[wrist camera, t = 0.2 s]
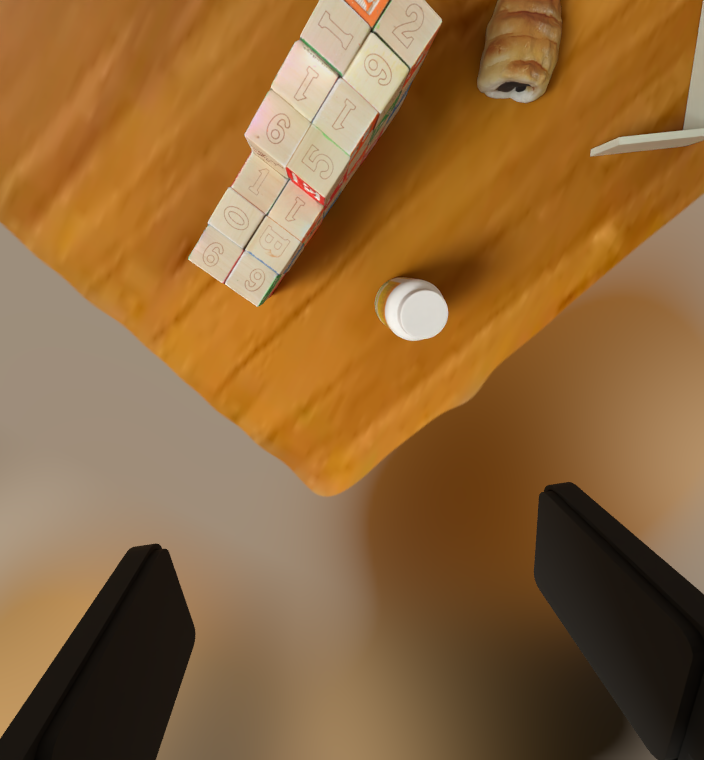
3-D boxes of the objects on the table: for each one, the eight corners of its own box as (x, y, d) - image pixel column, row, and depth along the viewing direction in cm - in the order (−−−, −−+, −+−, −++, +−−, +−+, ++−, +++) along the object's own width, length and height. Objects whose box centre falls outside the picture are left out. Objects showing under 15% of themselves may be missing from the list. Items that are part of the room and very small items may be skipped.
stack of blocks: (271, 298, 37) (249, 313, 25) (218, 260, 35) (166, 257, 23) (401, 107, 32) (447, 17, 21) (346, 53, 31) (362, -76, 19)
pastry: (490, -33, 30) (514, -74, 26) (563, -18, 31) (596, -56, 27) (470, 99, 33) (489, 78, 29) (537, 109, 34) (564, 90, 30)
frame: (610, -79, 30) (647, -123, 26) (723, -88, 30) (773, -132, 27) (590, 156, 35) (618, 145, 32) (686, 146, 35) (724, 133, 32)
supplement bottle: (382, 334, 39) (401, 356, 29) (367, 286, 37) (383, 293, 28) (429, 319, 39) (463, 336, 29) (417, 270, 37) (449, 271, 28)
